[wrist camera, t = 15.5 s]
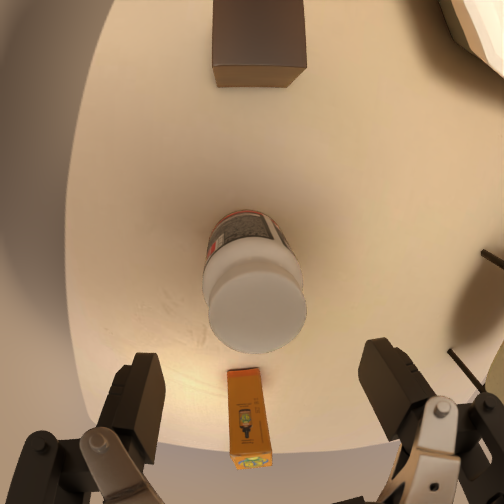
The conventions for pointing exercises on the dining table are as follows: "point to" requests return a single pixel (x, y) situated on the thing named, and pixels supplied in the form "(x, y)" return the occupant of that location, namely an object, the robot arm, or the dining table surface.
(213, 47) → the walnut block
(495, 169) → the dining table surface
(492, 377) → the planter
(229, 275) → the pill bottle
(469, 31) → the bowl
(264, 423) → the supplement box
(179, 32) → the dining table surface
